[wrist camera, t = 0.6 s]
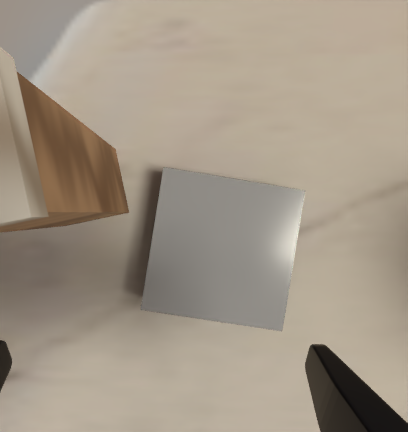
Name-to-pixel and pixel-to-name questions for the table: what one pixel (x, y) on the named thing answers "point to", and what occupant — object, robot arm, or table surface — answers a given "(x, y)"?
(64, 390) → the table surface
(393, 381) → the table surface
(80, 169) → the box
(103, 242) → the table surface
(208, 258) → the stone block
